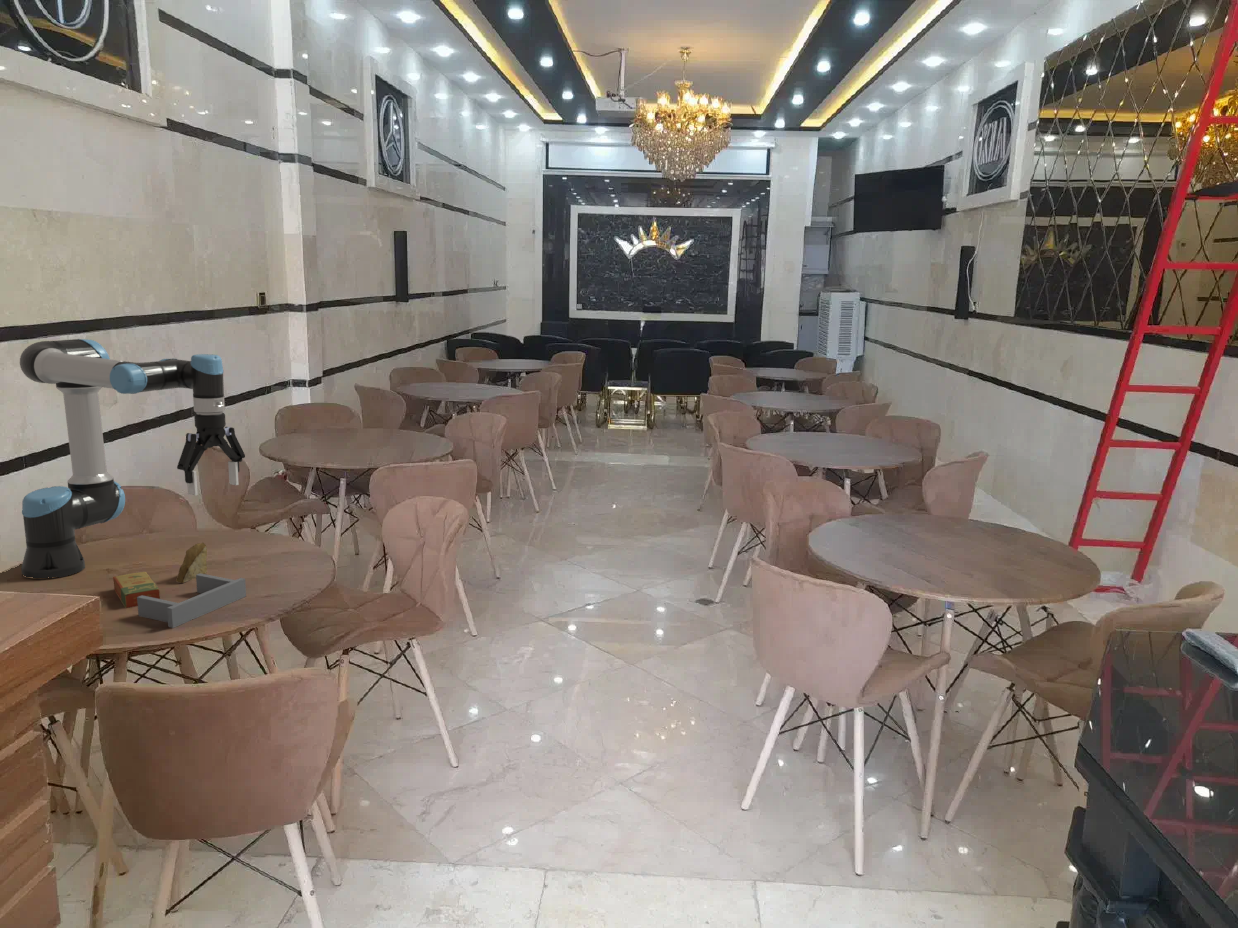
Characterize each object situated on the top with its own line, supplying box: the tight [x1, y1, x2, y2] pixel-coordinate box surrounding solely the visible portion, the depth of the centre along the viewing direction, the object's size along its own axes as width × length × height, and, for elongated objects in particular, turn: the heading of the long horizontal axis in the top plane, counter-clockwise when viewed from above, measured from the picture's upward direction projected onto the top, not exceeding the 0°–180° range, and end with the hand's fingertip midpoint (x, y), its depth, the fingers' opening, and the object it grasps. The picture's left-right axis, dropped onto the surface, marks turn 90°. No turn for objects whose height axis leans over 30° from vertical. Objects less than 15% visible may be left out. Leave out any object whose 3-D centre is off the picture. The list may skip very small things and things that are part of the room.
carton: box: [112, 571, 161, 609], centre depth 230 cm, size 8×16×4 cm, turn 39°
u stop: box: [137, 573, 247, 629], centre depth 223 cm, size 14×24×5 cm, turn 160°
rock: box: [175, 542, 208, 584], centre depth 244 cm, size 11×9×10 cm
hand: (213, 489), depth 236 cm, fingers open, 13 cm apart
